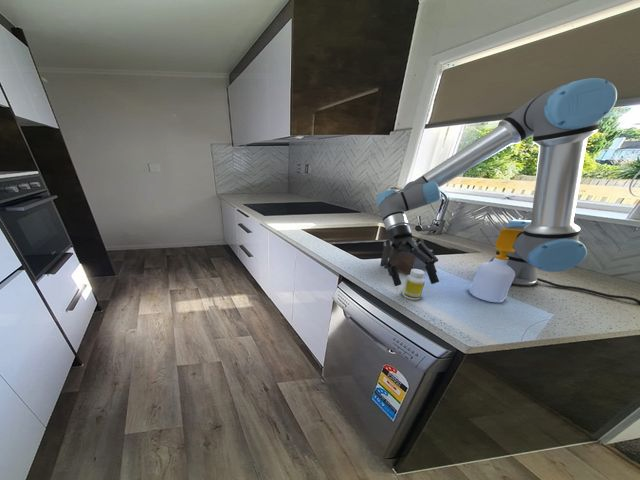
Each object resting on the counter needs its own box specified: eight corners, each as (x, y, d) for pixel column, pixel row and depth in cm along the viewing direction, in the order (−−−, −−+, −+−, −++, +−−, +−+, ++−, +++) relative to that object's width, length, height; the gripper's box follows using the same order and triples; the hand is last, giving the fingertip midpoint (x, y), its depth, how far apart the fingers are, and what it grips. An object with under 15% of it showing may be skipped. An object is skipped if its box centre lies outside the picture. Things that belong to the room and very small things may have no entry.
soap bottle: (470, 298, 83) (497, 229, 74) (467, 286, 90) (491, 222, 81) (506, 306, 79) (539, 234, 69) (500, 293, 86) (529, 226, 76)
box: (425, 270, 103) (431, 251, 100) (410, 275, 99) (415, 256, 96) (402, 261, 112) (406, 243, 109) (386, 266, 108) (391, 247, 104)
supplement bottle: (422, 301, 82) (430, 275, 78) (405, 299, 83) (412, 274, 79) (416, 292, 87) (423, 268, 83) (399, 291, 88) (406, 267, 84)
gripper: (421, 232, 94) (441, 284, 86) (361, 234, 92) (376, 289, 84) (436, 222, 87) (459, 278, 80) (371, 225, 85) (388, 283, 77)
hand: (416, 284), depth 82 cm, fingers open, 13 cm apart
